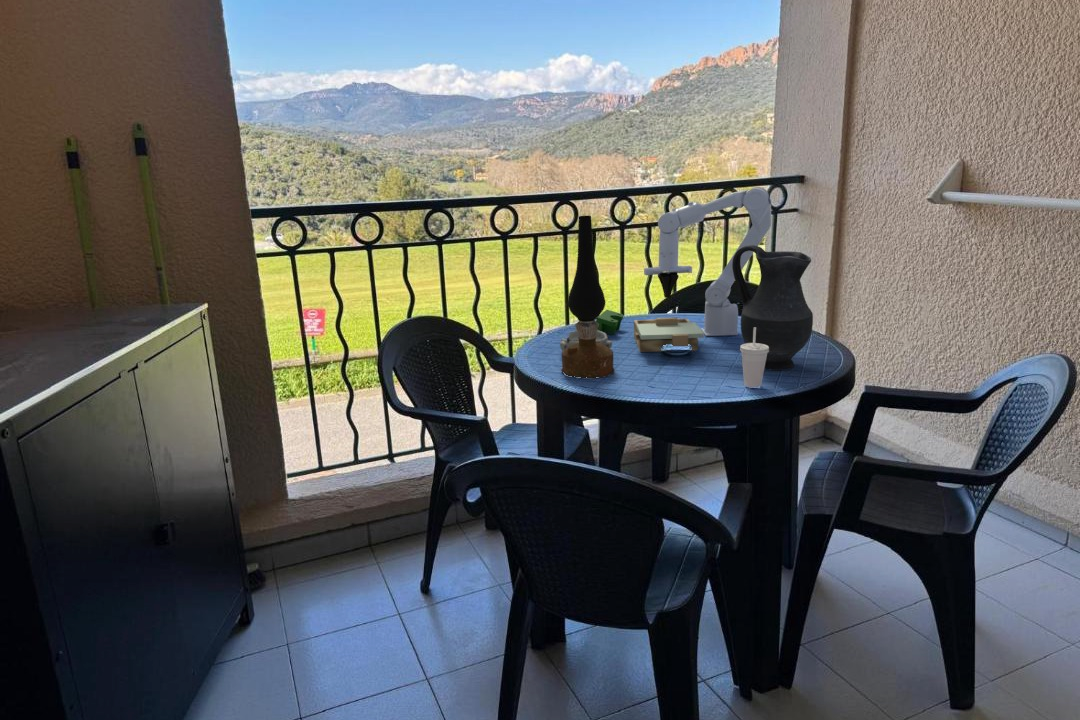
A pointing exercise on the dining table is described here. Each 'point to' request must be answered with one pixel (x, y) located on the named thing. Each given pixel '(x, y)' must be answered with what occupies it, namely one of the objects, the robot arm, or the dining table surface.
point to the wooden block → (637, 336)
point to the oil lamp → (586, 314)
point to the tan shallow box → (657, 344)
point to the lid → (670, 331)
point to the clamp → (609, 321)
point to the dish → (574, 335)
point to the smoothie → (753, 361)
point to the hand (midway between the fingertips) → (667, 297)
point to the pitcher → (775, 305)
